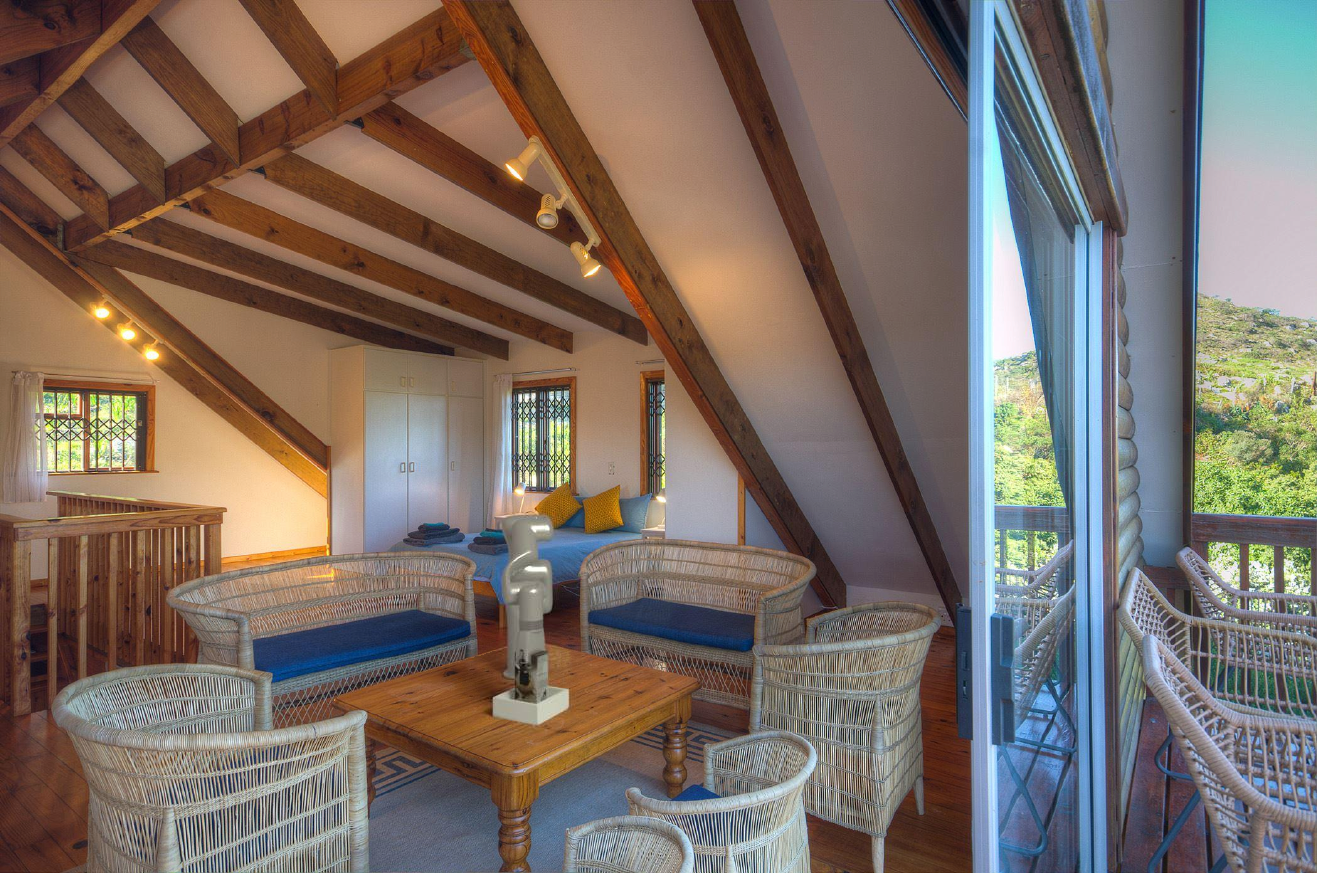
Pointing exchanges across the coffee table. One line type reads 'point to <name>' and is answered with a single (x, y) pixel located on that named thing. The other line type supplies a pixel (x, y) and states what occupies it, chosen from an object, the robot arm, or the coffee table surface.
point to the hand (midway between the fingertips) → (531, 681)
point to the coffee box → (533, 679)
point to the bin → (530, 706)
